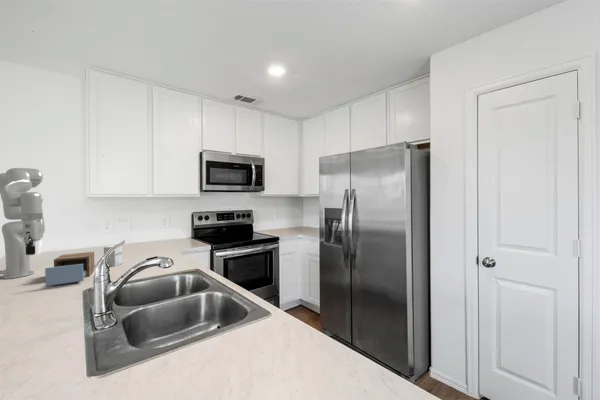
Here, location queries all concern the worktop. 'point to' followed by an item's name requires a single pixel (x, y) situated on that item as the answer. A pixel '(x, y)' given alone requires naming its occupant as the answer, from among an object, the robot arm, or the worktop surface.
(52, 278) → the tray
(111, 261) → the supplement box
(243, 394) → the worktop surface
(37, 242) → the shot glass
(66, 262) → the tan storage bin
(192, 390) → the worktop surface
